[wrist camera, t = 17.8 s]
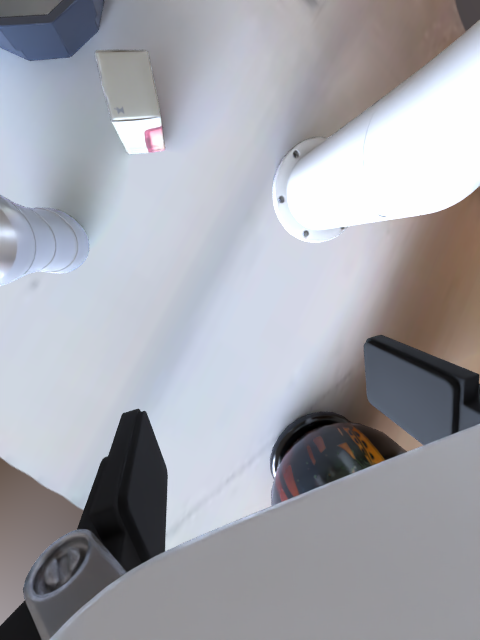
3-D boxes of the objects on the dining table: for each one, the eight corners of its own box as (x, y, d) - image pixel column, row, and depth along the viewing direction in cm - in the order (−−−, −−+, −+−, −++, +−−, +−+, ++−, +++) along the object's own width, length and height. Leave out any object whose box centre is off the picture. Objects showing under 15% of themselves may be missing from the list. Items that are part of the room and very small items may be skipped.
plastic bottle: (68, 200, 29) (-128, 107, 10) (107, 254, 31) (4, 259, 13) (15, 229, 29) (-287, 187, 10) (59, 282, 31) (-122, 330, 12)
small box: (166, 151, 30) (162, 119, 23) (127, 155, 30) (110, 122, 22) (155, 99, 29) (148, 47, 21) (114, 102, 28) (92, 48, 21)
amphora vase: (300, 373, 42) (512, 580, 16) (386, 422, 49) (631, 621, 23) (229, 479, 44) (309, 823, 18) (320, 511, 51) (476, 792, 24)
